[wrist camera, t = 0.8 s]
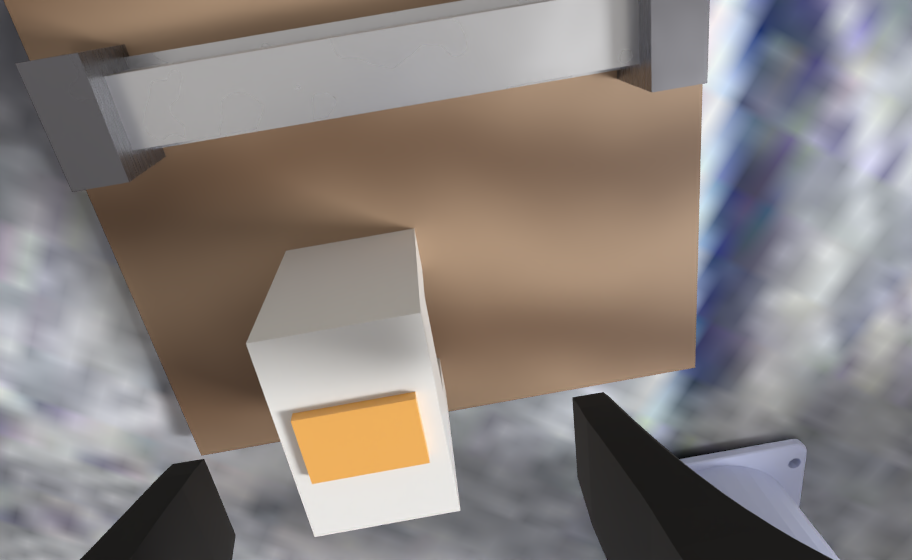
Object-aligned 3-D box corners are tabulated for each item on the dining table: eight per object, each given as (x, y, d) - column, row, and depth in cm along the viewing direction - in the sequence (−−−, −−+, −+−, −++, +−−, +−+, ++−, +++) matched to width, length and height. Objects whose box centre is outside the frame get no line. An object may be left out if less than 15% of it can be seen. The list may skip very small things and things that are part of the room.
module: (445, 391, 21) (461, 519, 16) (333, 411, 21) (313, 546, 16) (414, 228, 19) (420, 319, 13) (285, 250, 19) (242, 350, 13)
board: (683, 352, 23) (695, 367, 22) (209, 437, 23) (201, 455, 22) (692, -256, 15) (711, -272, 14) (-33, -138, 15) (-60, -146, 14)
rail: (668, 70, 17) (710, 82, 15) (112, 165, 17) (68, 192, 15) (668, -48, 16) (715, -55, 14) (67, 53, 16) (10, 64, 13)
